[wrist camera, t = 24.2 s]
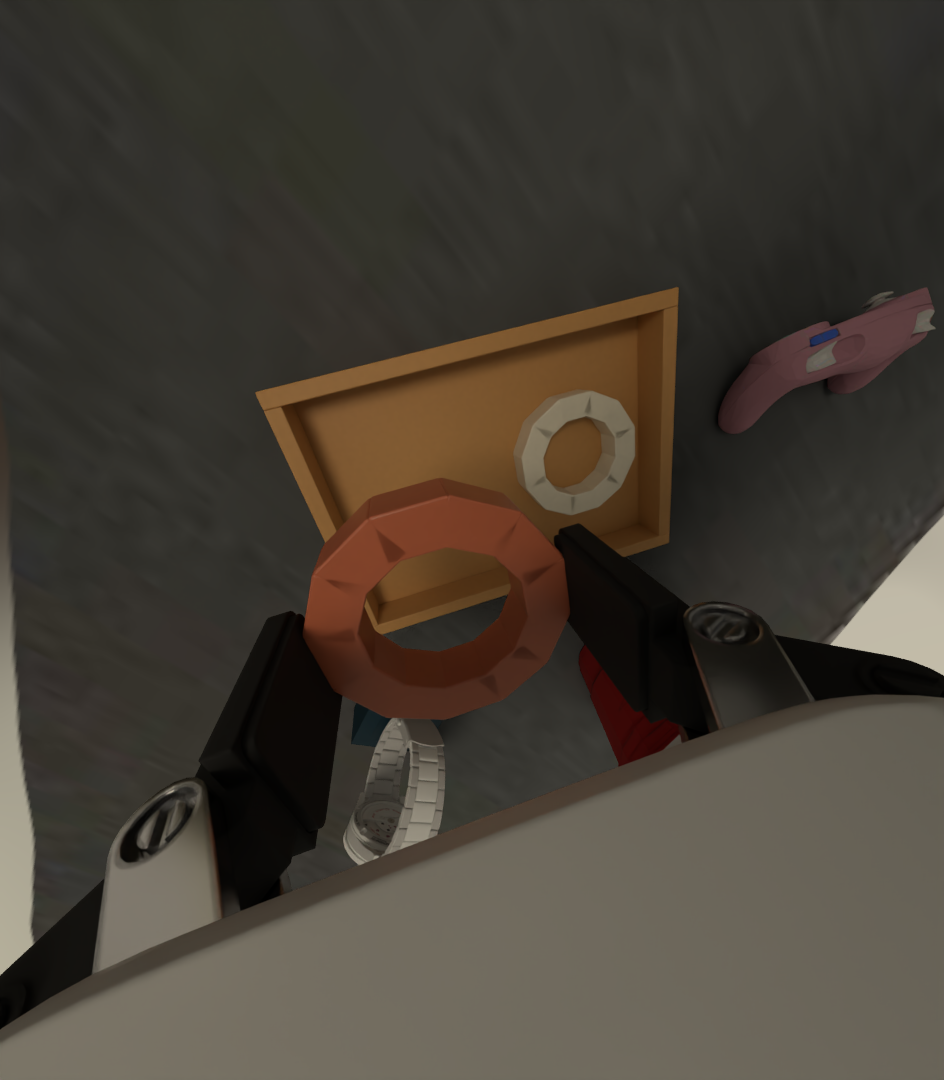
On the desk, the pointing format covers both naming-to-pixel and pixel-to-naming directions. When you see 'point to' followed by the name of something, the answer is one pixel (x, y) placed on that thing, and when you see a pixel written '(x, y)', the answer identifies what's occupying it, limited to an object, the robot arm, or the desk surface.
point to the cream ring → (610, 464)
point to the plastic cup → (624, 717)
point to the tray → (487, 438)
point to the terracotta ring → (416, 529)
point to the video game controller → (828, 356)
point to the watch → (396, 785)
